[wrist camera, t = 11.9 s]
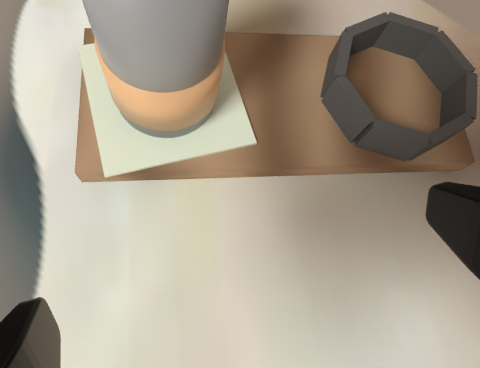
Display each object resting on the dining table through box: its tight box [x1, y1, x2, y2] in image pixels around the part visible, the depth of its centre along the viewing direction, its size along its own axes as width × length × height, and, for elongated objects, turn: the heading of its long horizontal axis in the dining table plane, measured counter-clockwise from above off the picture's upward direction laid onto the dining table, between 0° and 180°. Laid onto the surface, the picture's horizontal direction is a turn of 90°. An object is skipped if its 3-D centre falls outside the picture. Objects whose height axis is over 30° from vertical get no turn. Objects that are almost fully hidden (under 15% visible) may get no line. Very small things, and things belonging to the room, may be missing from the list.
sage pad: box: [78, 43, 257, 178], centre depth 23 cm, size 9×9×1 cm
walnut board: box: [75, 28, 475, 182], centre depth 25 cm, size 25×10×2 cm, turn 95°
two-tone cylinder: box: [82, 0, 229, 138], centre depth 17 cm, size 6×6×11 cm
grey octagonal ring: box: [320, 12, 477, 162], centre depth 24 cm, size 10×10×2 cm
